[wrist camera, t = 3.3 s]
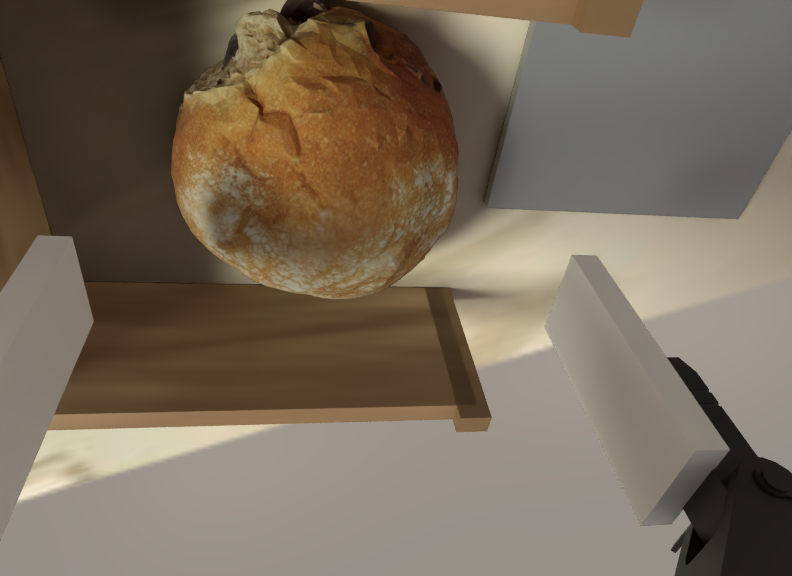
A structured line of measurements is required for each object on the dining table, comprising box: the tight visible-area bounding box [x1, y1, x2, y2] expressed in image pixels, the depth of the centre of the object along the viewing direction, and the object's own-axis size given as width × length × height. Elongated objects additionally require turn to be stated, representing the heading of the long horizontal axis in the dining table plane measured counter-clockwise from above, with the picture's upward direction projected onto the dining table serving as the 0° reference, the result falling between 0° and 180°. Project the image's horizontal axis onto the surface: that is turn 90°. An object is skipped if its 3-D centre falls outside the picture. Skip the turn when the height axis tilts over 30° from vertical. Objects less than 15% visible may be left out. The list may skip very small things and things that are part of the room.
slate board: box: [484, 0, 792, 219], centre depth 21 cm, size 12×12×1 cm
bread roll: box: [171, 0, 458, 299], centre depth 20 cm, size 10×10×8 cm
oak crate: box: [0, 0, 644, 432], centre depth 18 cm, size 15×17×8 cm
